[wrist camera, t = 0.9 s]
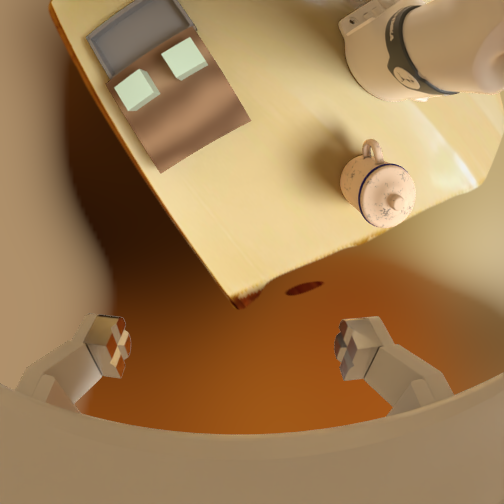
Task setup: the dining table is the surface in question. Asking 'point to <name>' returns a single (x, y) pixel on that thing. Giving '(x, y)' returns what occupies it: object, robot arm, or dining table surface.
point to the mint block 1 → (137, 90)
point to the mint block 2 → (184, 59)
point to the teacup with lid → (378, 187)
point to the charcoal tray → (136, 32)
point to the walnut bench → (181, 105)
